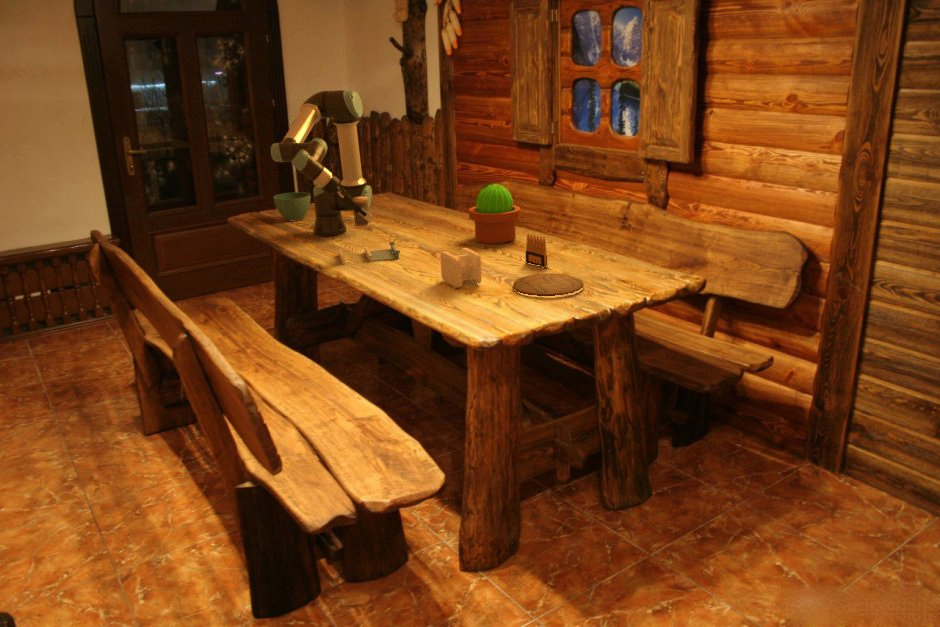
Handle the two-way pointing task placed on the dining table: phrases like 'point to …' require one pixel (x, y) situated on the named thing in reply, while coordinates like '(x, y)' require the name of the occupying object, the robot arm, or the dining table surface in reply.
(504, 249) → the dining table surface
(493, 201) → the potted cactus
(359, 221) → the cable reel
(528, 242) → the ammunition clip
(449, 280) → the cable organizer
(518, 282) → the trivet
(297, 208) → the green rounded bowl
